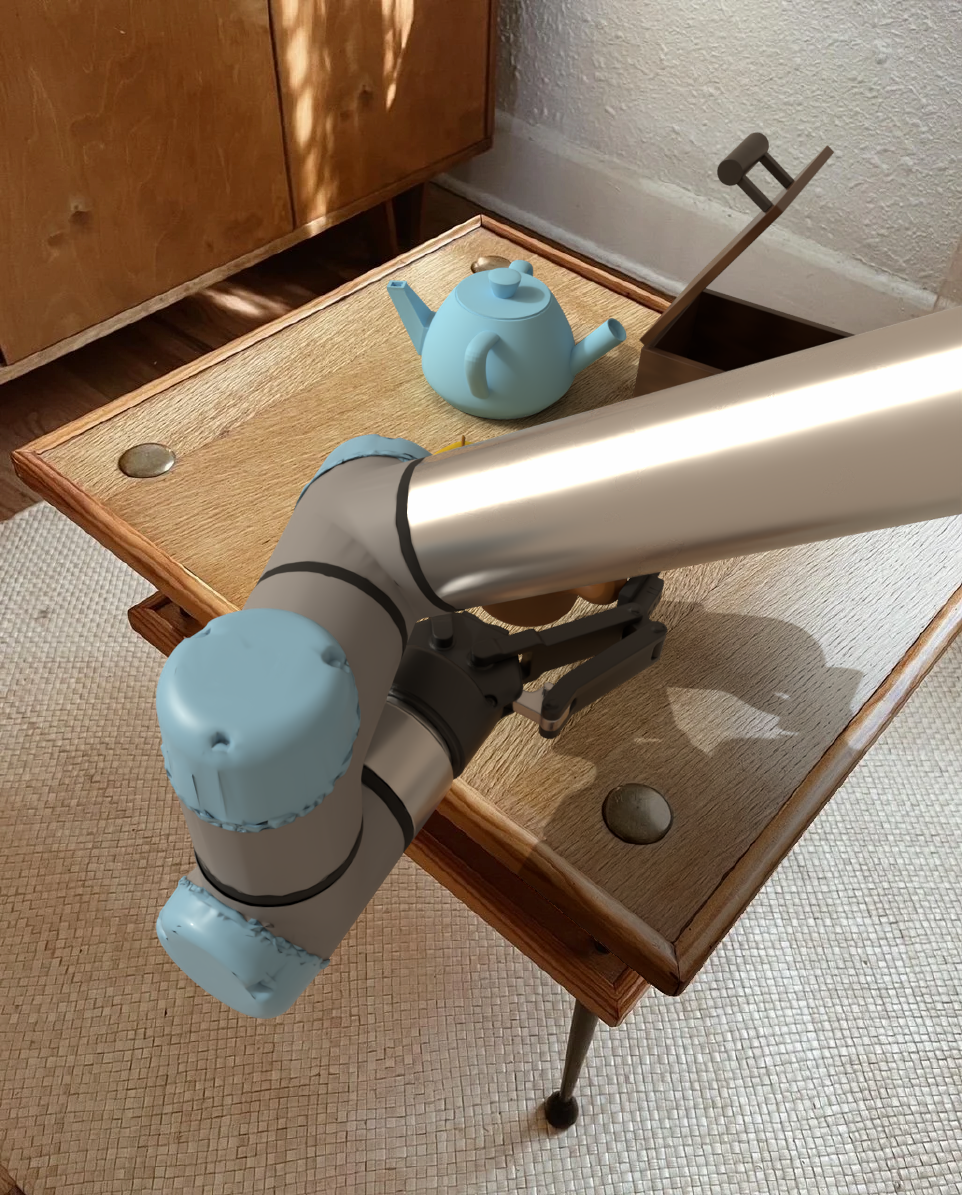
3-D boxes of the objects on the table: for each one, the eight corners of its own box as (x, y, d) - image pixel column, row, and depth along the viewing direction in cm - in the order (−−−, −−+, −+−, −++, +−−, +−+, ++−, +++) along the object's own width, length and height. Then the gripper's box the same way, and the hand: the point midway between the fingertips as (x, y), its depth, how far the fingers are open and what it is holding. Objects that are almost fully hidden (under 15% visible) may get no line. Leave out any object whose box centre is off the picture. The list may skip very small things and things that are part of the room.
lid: (834, 152, 81) (783, 98, 81) (783, 212, 73) (726, 153, 73) (700, 283, 94) (656, 238, 93) (645, 347, 86) (596, 297, 86)
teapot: (485, 460, 89) (492, 348, 81) (383, 364, 99) (380, 255, 91) (621, 406, 96) (639, 297, 88) (513, 321, 105) (520, 216, 97)
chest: (834, 419, 96) (863, 337, 89) (791, 493, 88) (820, 409, 82) (679, 366, 101) (696, 285, 94) (626, 432, 93) (641, 348, 87)
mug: (647, 635, 69) (672, 533, 63) (566, 690, 66) (583, 588, 59) (528, 539, 75) (539, 436, 69) (448, 584, 72) (451, 481, 65)
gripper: (234, 690, 62) (427, 493, 75) (590, 880, 54) (734, 623, 68) (216, 605, 56) (427, 408, 70) (609, 802, 49) (762, 539, 62)
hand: (579, 514), depth 69 cm, fingers closed on mug, 12 cm apart
